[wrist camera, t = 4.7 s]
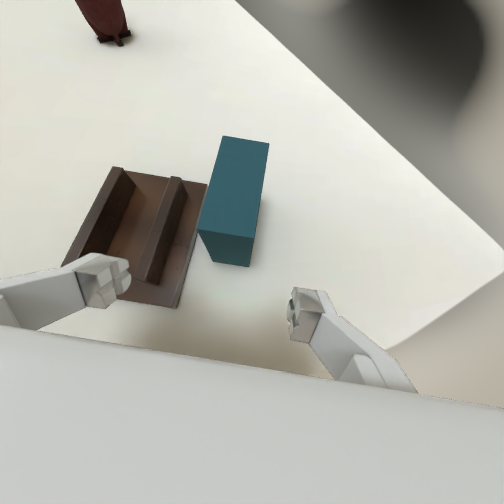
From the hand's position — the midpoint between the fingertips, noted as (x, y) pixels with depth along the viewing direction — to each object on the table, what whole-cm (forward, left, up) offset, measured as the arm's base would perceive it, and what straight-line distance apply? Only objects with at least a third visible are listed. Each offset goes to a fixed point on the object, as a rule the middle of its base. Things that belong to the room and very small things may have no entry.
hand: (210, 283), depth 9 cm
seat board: (+6, +11, -13) cm, 18 cm away
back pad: (+9, 0, -13) cm, 16 cm away
